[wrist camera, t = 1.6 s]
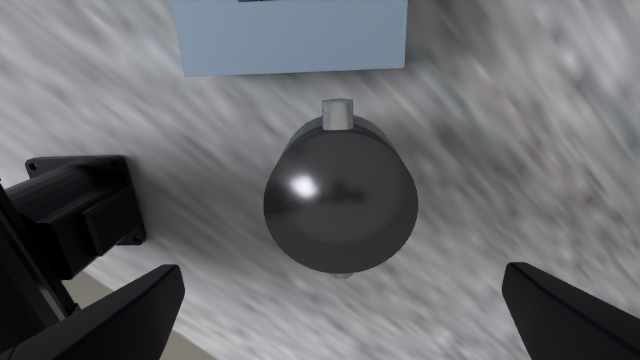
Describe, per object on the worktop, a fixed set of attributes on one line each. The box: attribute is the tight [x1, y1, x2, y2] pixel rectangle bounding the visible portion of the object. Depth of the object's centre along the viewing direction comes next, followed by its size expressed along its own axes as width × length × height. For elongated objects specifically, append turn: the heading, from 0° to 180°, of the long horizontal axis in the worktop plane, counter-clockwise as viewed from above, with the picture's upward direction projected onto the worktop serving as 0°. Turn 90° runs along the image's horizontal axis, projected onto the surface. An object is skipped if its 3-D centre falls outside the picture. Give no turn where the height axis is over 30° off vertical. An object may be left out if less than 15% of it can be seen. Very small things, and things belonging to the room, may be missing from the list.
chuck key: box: [263, 99, 418, 279], centre depth 16 cm, size 8×6×8 cm
